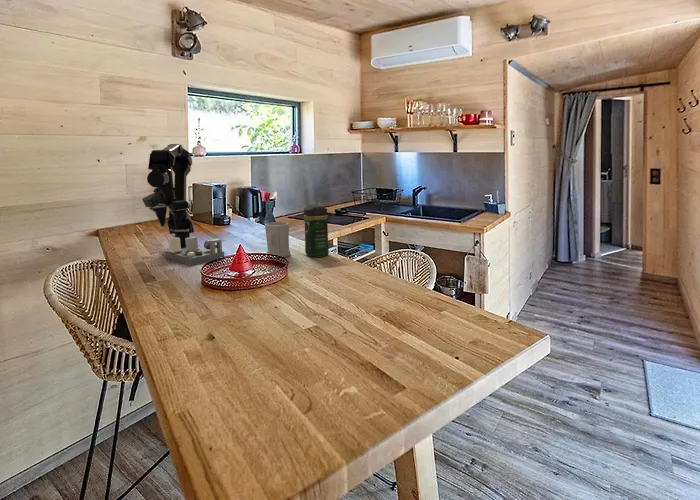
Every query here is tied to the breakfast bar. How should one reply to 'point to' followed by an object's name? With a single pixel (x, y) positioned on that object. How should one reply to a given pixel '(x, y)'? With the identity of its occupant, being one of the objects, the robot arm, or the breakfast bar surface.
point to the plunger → (208, 245)
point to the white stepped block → (191, 244)
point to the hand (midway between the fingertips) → (169, 227)
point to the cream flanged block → (174, 245)
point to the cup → (278, 238)
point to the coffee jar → (316, 231)
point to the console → (198, 254)
